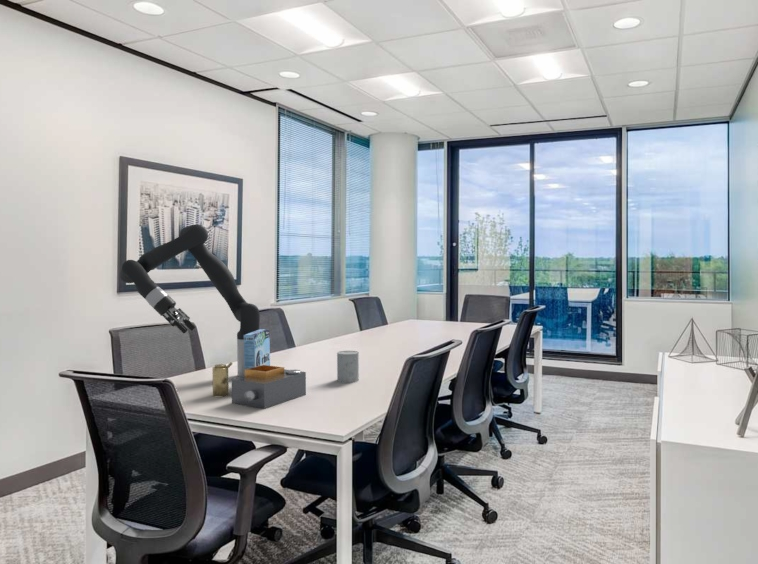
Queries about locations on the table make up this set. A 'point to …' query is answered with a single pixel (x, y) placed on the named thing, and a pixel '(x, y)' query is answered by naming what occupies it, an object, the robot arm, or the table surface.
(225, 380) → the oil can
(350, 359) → the grey stone cylinder
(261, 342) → the gum box
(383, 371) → the table surface
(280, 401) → the grey box with knob
